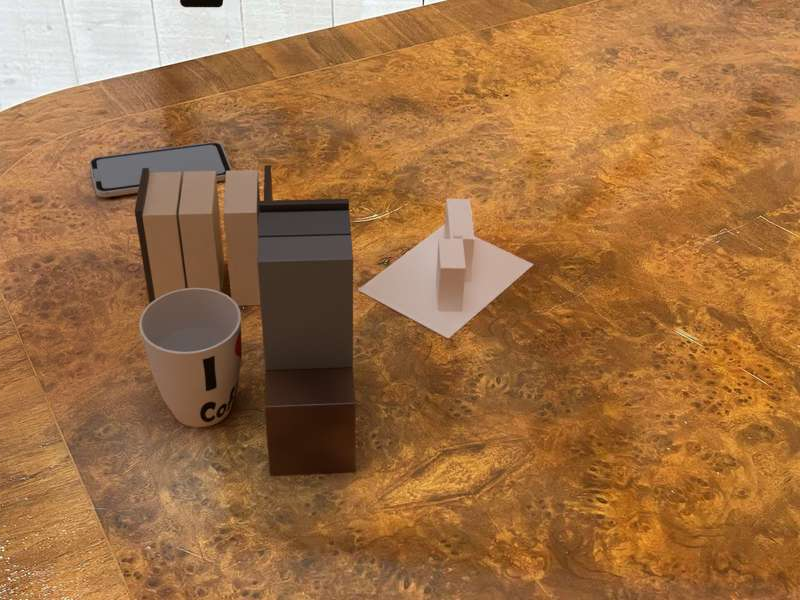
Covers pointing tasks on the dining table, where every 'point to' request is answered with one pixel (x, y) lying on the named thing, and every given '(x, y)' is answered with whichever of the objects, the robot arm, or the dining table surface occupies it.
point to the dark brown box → (310, 420)
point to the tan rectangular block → (242, 234)
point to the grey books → (306, 283)
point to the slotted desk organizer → (182, 230)
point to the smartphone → (155, 166)
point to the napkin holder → (447, 275)
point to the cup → (194, 352)
